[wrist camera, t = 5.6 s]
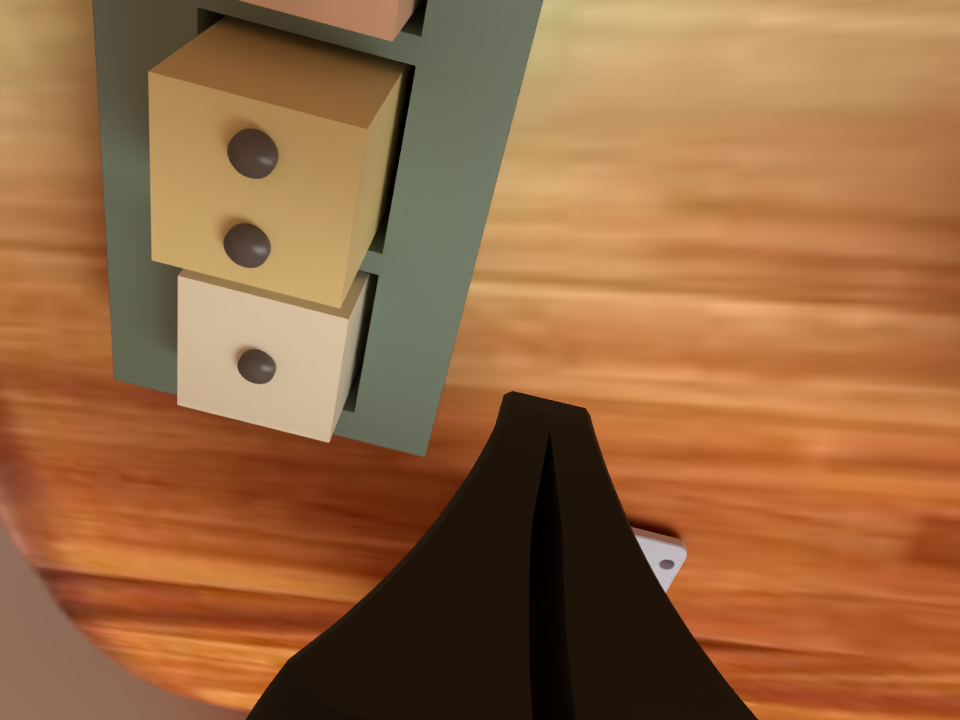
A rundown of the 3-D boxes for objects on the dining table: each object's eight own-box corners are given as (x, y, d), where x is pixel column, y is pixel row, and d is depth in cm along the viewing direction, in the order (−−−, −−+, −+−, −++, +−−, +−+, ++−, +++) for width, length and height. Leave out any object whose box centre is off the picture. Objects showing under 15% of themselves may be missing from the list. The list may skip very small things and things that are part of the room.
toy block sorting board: (441, 392, 26) (424, 457, 24) (159, 320, 26) (114, 379, 23) (612, -270, 16) (613, -272, 14) (150, -402, 16) (68, -429, 13)
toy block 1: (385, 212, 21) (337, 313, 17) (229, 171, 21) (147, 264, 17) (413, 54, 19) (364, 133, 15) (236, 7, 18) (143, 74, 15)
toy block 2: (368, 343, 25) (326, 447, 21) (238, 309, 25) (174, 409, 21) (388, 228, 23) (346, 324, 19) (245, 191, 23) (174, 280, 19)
